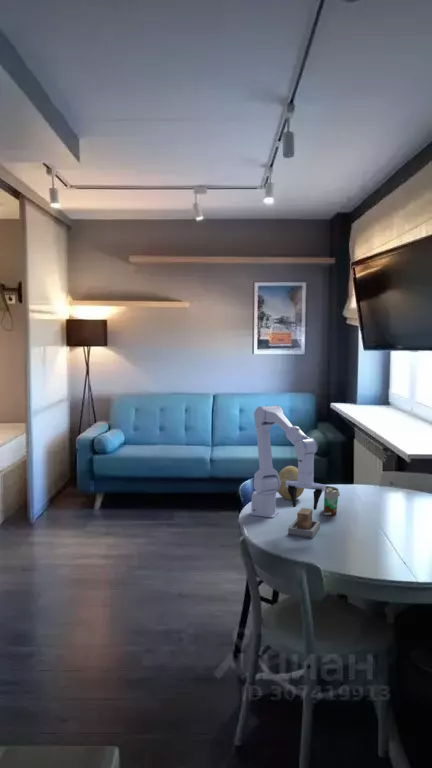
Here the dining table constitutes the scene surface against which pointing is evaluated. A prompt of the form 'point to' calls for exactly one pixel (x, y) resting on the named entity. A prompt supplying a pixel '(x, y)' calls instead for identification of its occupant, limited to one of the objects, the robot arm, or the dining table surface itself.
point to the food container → (330, 501)
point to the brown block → (304, 519)
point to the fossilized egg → (288, 475)
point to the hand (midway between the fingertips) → (304, 507)
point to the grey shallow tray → (304, 530)
